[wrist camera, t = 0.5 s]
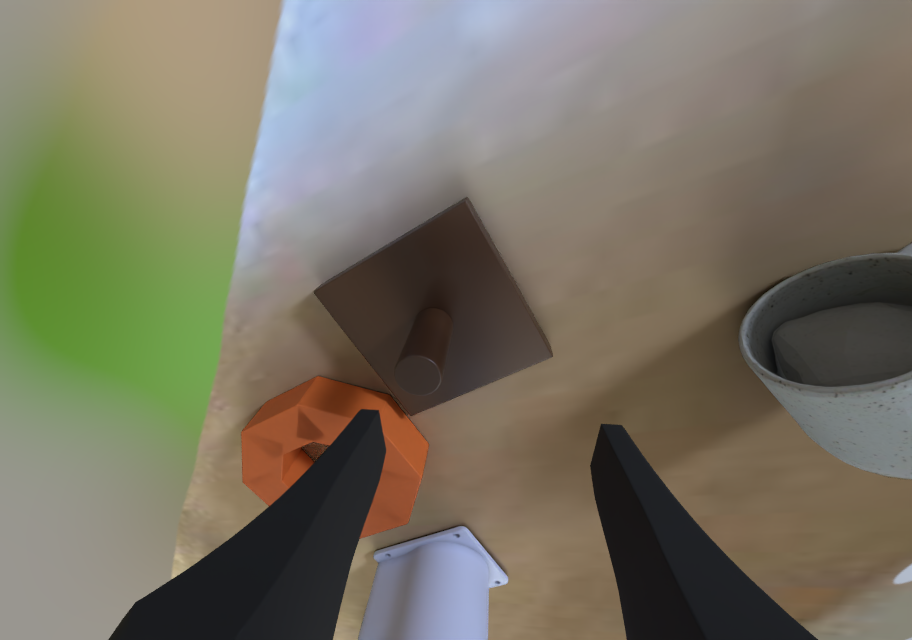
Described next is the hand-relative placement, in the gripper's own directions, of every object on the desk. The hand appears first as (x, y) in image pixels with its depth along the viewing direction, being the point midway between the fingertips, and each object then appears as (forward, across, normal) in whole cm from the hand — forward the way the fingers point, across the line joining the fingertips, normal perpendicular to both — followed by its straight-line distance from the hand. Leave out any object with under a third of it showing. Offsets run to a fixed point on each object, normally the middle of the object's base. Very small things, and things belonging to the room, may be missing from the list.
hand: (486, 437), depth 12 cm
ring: (+9, +11, +13) cm, 19 cm away
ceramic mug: (+11, -18, +1) cm, 21 cm away
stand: (+10, +3, +2) cm, 11 cm away
